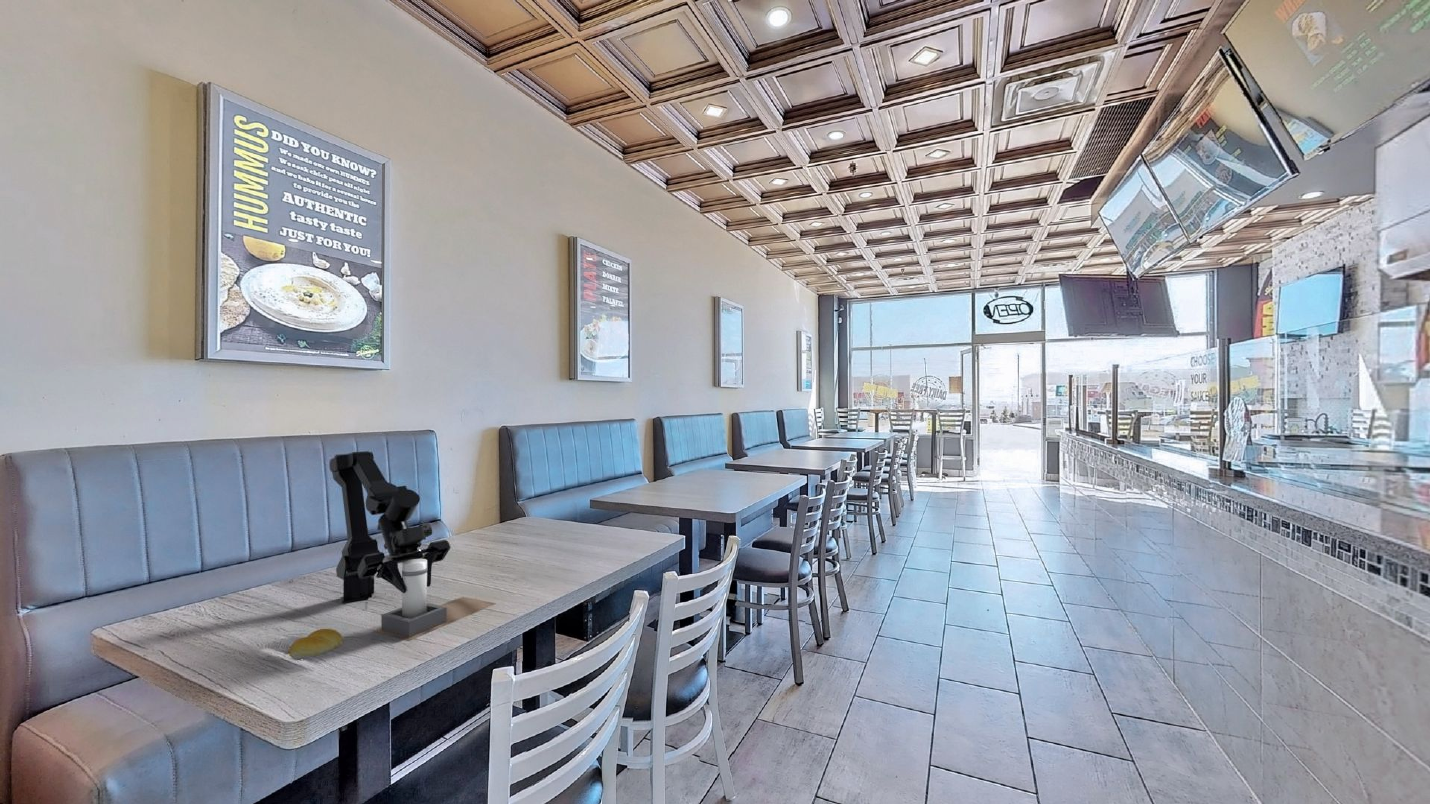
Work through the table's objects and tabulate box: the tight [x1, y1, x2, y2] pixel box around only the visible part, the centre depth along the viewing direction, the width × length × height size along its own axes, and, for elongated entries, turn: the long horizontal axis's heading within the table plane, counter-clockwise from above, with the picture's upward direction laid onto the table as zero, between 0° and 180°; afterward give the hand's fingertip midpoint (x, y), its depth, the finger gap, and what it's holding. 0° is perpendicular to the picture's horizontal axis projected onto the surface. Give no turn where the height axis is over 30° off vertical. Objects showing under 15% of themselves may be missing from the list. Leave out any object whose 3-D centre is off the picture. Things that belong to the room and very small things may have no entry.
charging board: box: [373, 596, 497, 642], centre depth 129 cm, size 24×12×1 cm, turn 156°
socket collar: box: [380, 602, 447, 638], centre depth 123 cm, size 9×9×4 cm
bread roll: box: [288, 628, 344, 661], centre depth 112 cm, size 8×9×4 cm
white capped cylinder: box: [401, 559, 428, 619], centre depth 123 cm, size 5×5×12 cm
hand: (417, 588), depth 122 cm, fingers closed on white capped cylinder, 5 cm apart
